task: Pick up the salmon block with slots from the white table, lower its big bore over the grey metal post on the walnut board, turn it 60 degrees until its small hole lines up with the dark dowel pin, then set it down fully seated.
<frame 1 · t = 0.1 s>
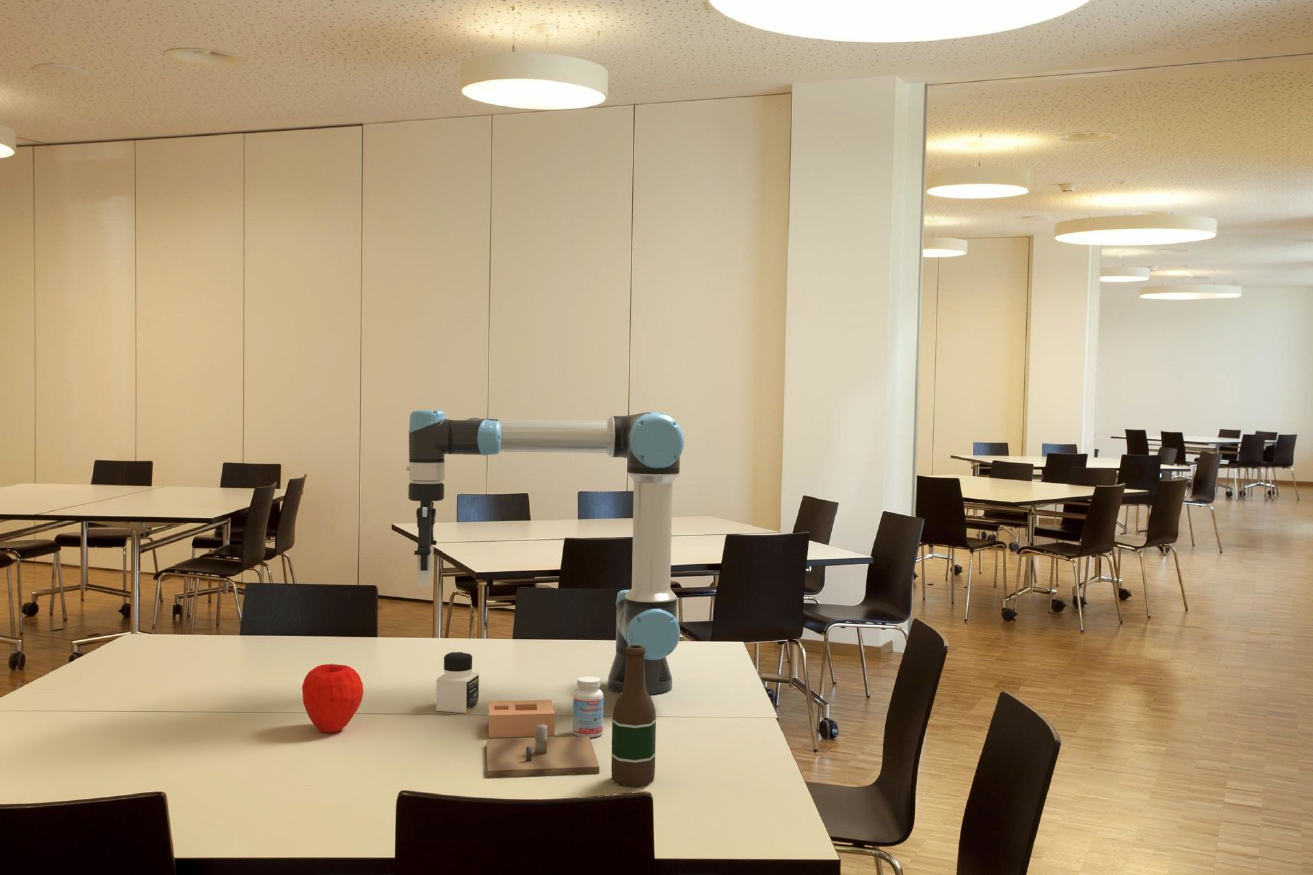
hand: (425, 580, 237), 28 cm above the table, fingers open, 13 cm apart
beer bottle: (633, 781, 196), on the table
salmon block with slots: (525, 728, 225), on the table
post board: (540, 758, 207), on the table
medicine bottle: (457, 708, 240), on the table
pill bottle: (587, 735, 223), on the table
apple: (332, 730, 223), on the table
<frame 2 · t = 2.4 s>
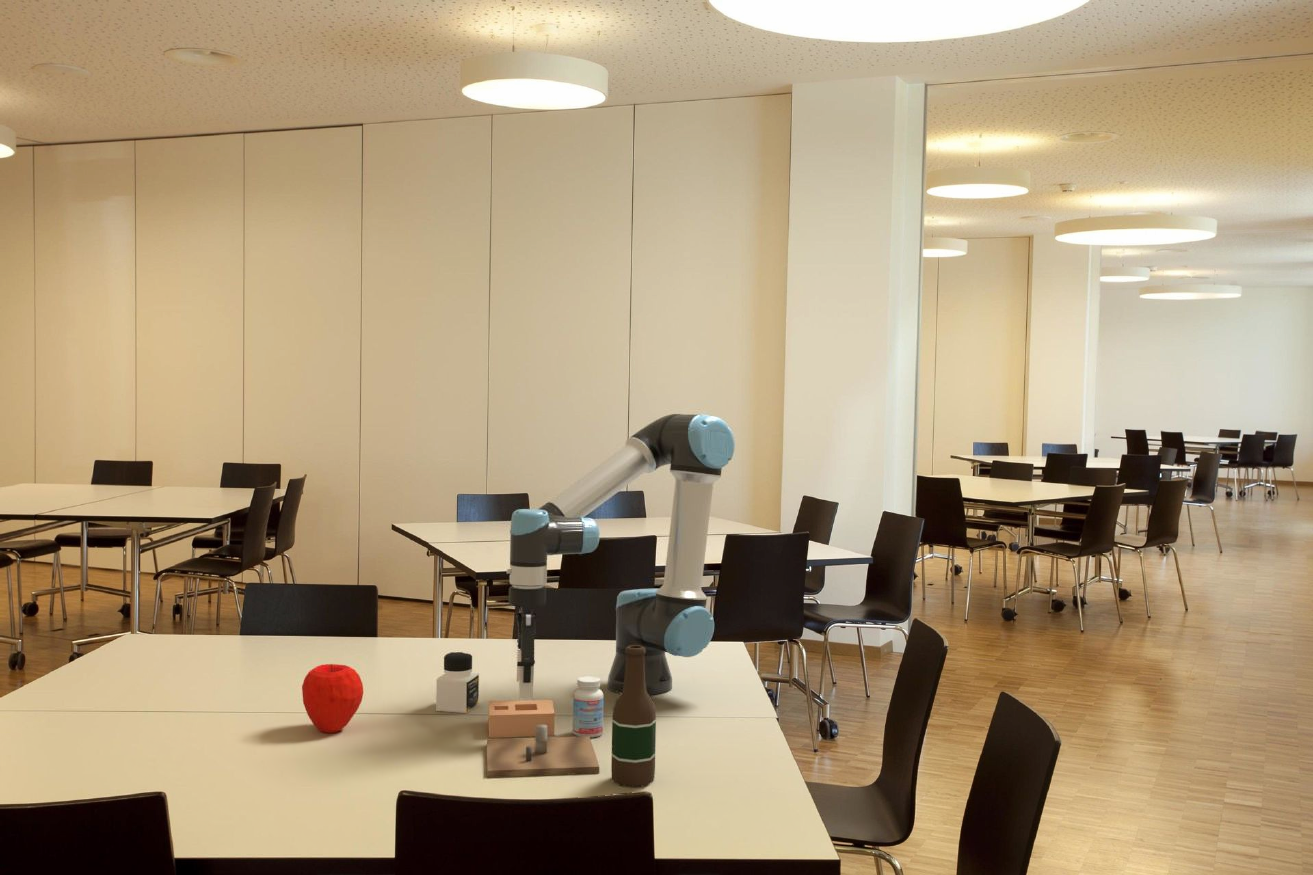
hand: (524, 689, 225), 8 cm above the table, fingers open, 13 cm apart
nothing on the table moved.
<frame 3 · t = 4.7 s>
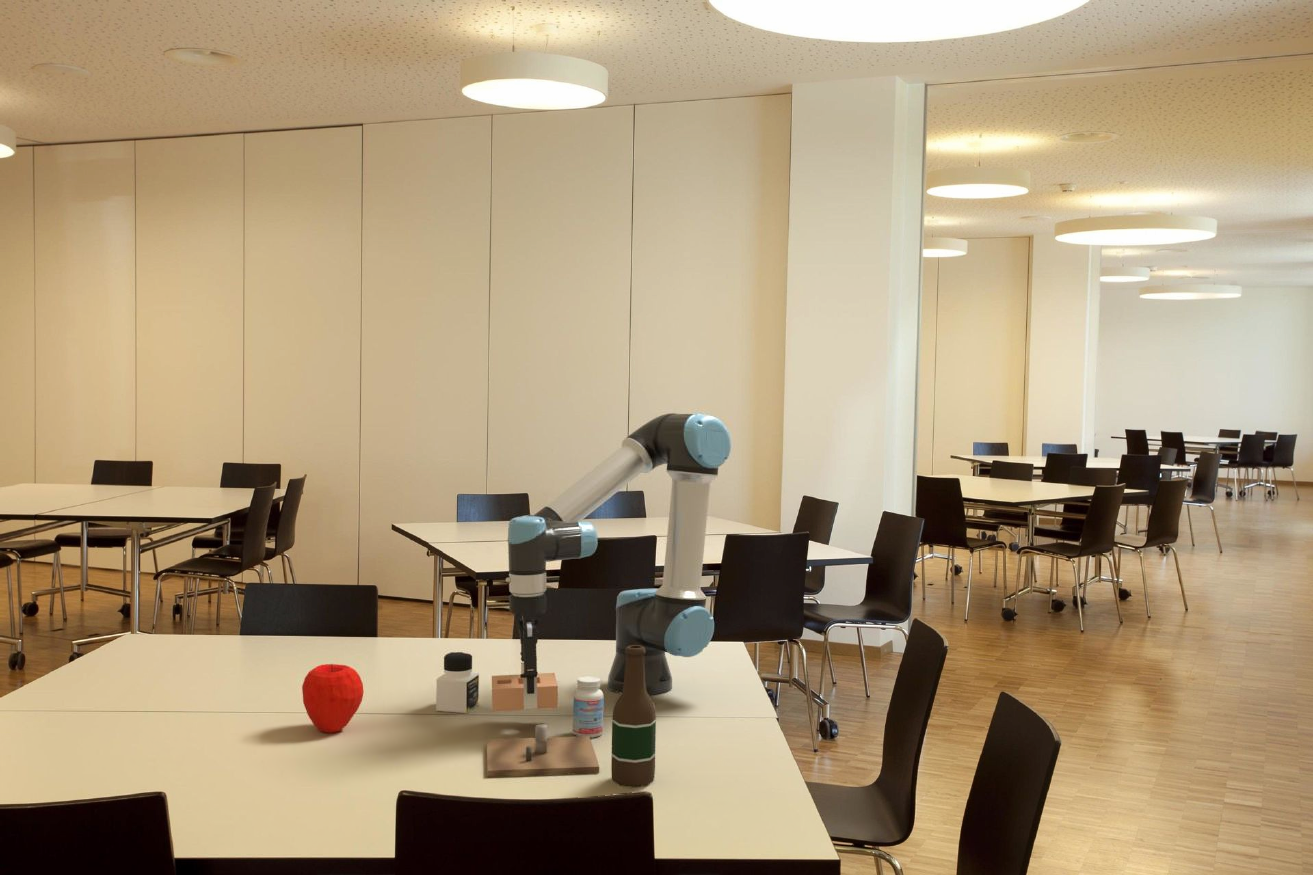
hand: (529, 700, 226), 6 cm above the table, fingers closed on salmon block with slots, 10 cm apart
salmon block with slots: (529, 702, 226), point 5 cm above the table, touching gripper
everything else where it was.
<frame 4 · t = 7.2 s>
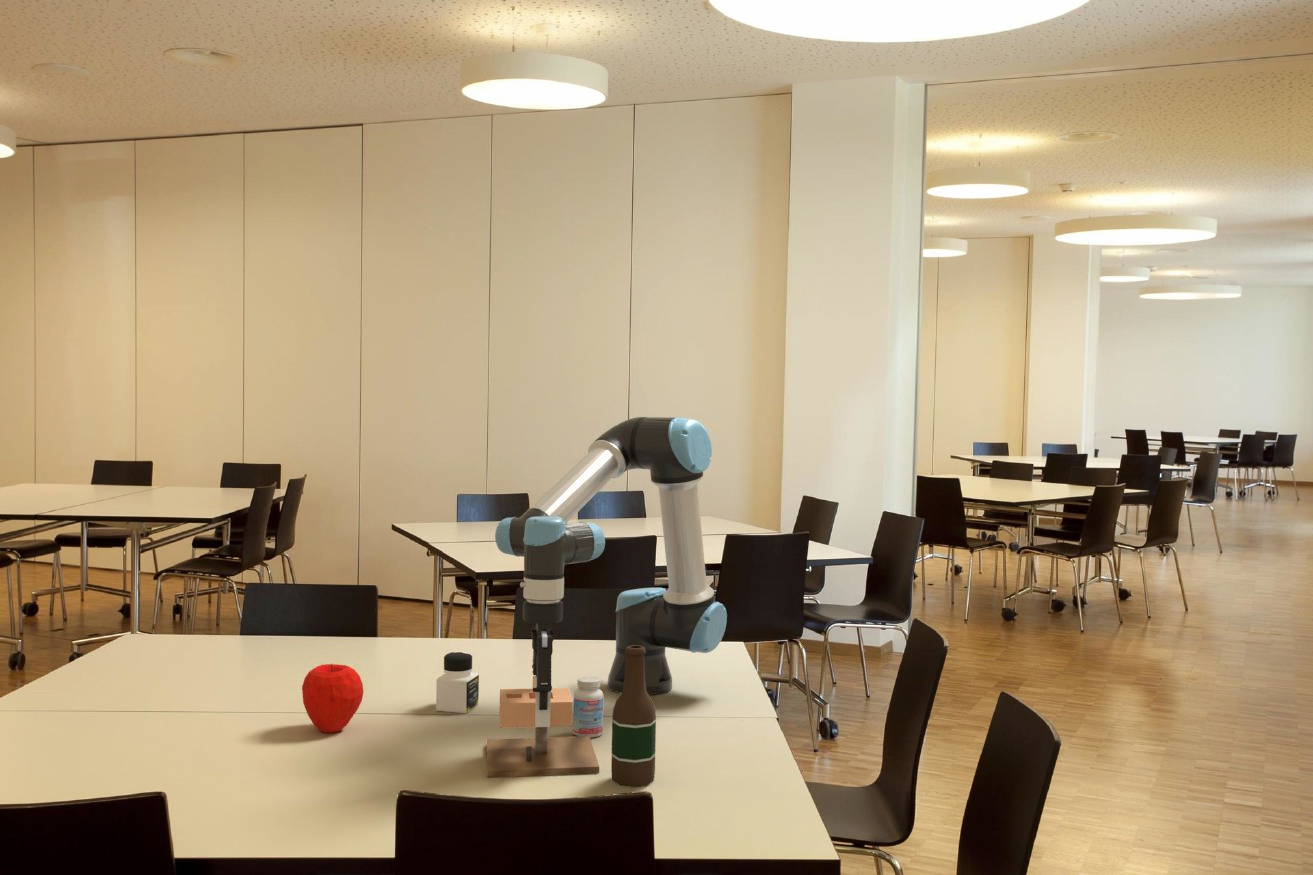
hand: (540, 718, 207), 8 cm above the table, fingers closed on salmon block with slots, 10 cm apart
salmon block with slots: (540, 719, 207), point 8 cm above the table, touching gripper
everything else where it was.
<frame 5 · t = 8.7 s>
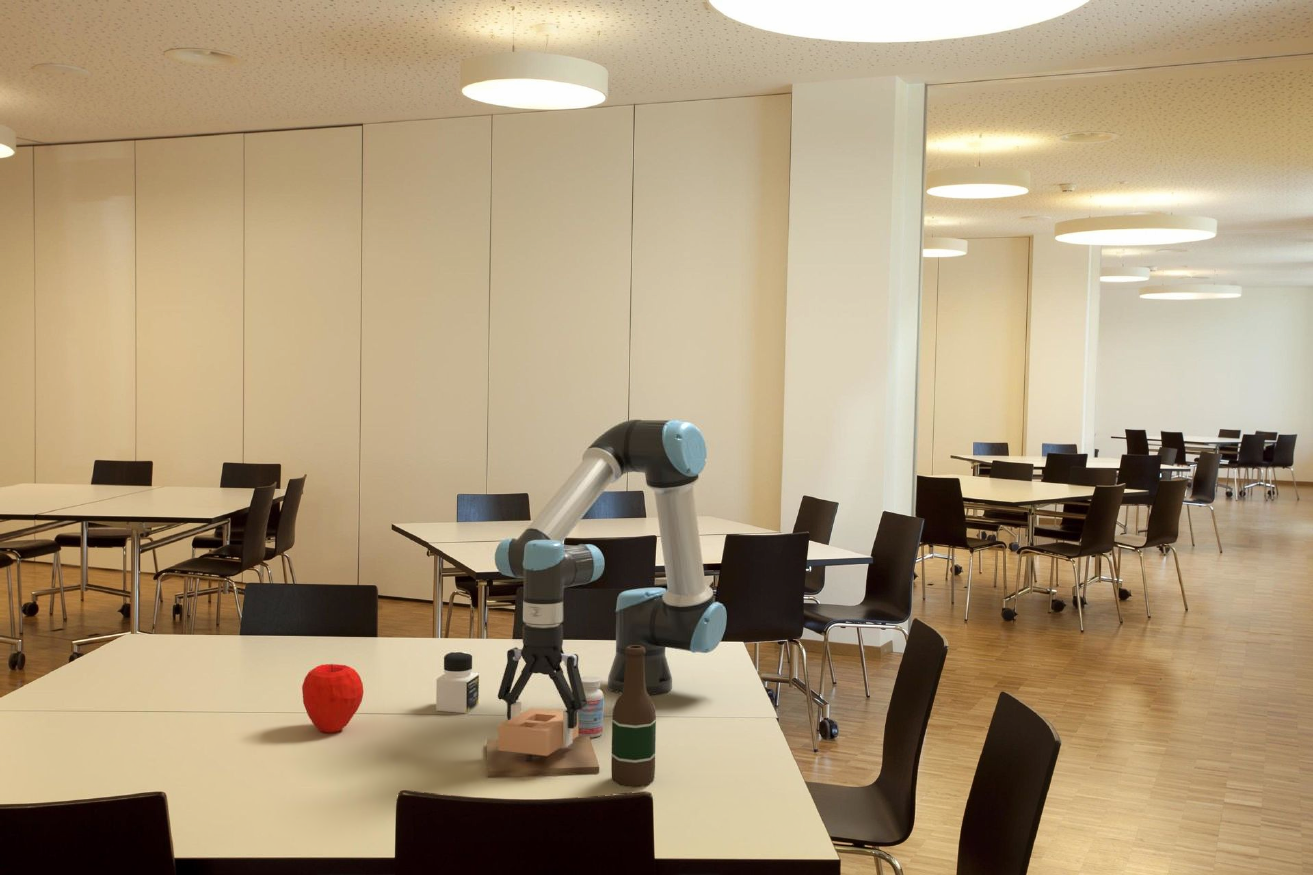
hand: (541, 740, 207), 3 cm above the table, fingers closed on salmon block with slots, 10 cm apart
salmon block with slots: (541, 741, 207), point 3 cm above the table, touching gripper
everything else where it was.
when the fingers open (2 cm above the table, at t = 9.8 s): salmon block with slots stays where it is, resting on post board.
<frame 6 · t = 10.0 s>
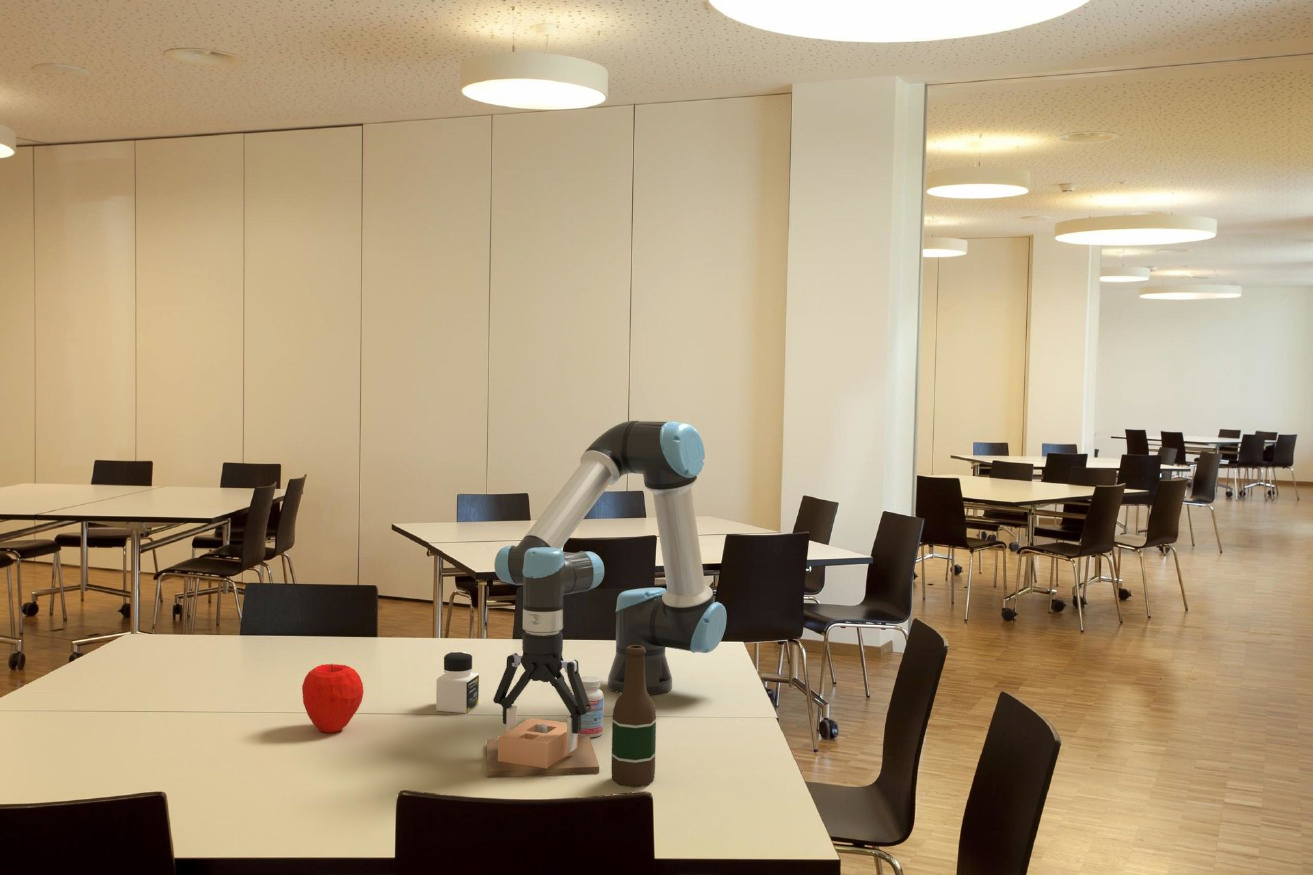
hand: (541, 745, 207), 2 cm above the table, fingers open, 12 cm apart
salmon block with slots: (540, 752, 207), point 1 cm above the table, touching post board
everything else where it was.
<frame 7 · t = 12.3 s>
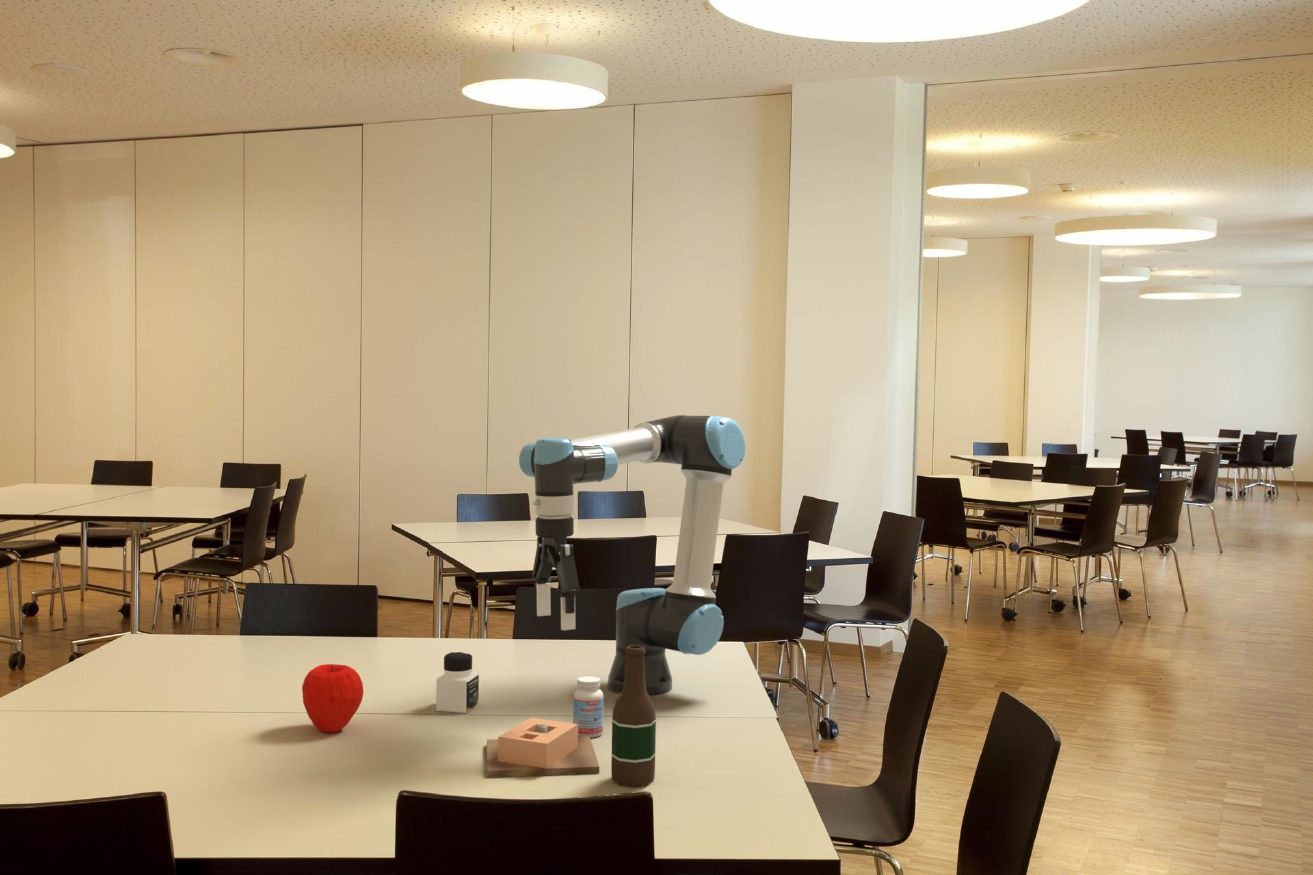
hand: (555, 622, 219), 23 cm above the table, fingers open, 13 cm apart
nothing on the table moved.
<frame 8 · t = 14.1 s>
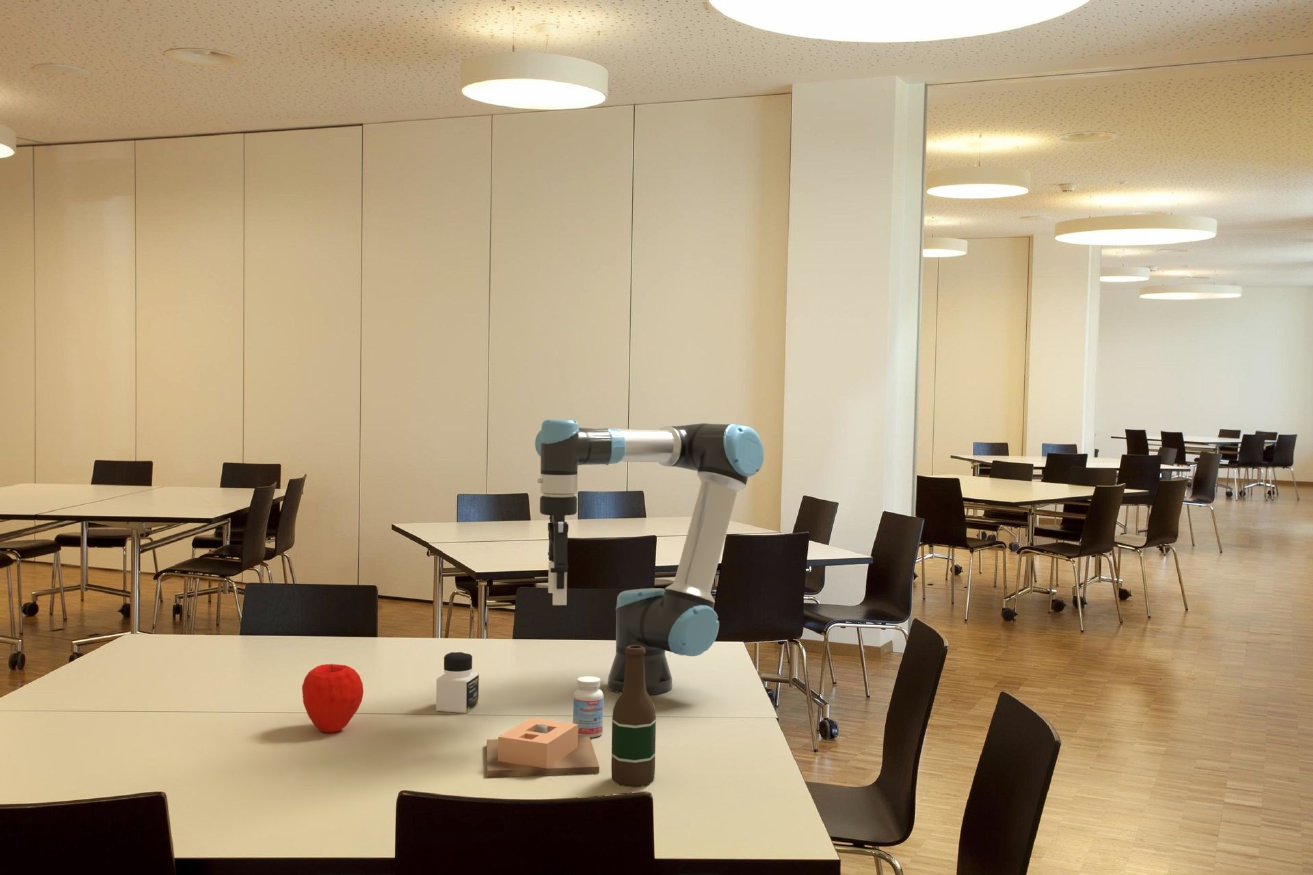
hand: (557, 598, 225), 27 cm above the table, fingers open, 13 cm apart
nothing on the table moved.
at the end: salmon block with slots 0.0 cm off-centre on the post board, point 1.2 cm above the post board's base; salmon block with slots tilted 0°; the gripper is holding nothing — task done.
